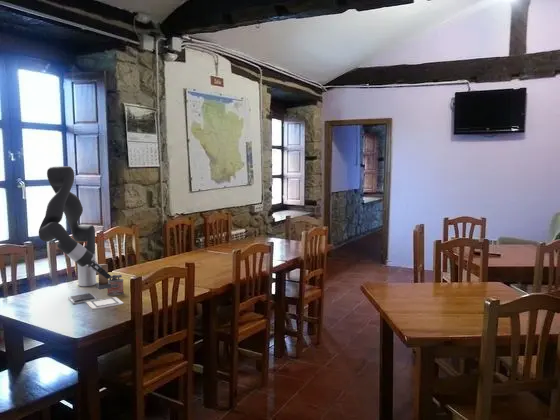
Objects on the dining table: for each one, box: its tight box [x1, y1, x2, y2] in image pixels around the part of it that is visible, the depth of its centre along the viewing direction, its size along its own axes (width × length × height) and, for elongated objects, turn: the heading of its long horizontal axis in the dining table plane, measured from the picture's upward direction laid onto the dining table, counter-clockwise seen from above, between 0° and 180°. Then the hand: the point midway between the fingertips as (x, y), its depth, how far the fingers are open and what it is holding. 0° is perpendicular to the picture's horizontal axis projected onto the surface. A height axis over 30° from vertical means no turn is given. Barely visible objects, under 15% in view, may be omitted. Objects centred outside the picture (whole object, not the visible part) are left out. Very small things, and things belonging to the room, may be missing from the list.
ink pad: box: [67, 293, 98, 305], centre depth 224 cm, size 11×11×1 cm
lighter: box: [106, 274, 125, 296], centre depth 233 cm, size 8×3×10 cm, turn 106°
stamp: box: [95, 263, 111, 291], centre depth 217 cm, size 6×6×11 cm
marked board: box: [85, 296, 124, 310], centre depth 218 cm, size 12×14×1 cm
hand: (107, 276), depth 218 cm, fingers closed on stamp, 4 cm apart
